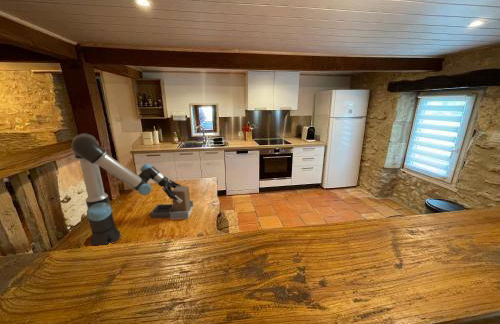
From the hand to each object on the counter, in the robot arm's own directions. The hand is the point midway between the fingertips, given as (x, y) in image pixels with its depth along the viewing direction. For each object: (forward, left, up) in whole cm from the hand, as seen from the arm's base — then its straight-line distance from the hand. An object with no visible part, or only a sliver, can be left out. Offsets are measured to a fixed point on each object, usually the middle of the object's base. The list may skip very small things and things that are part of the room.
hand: (183, 197), depth 153 cm
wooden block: (-2, 0, -12) cm, 13 cm away
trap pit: (-17, 0, -13) cm, 21 cm away
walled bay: (-2, 0, -13) cm, 13 cm away
